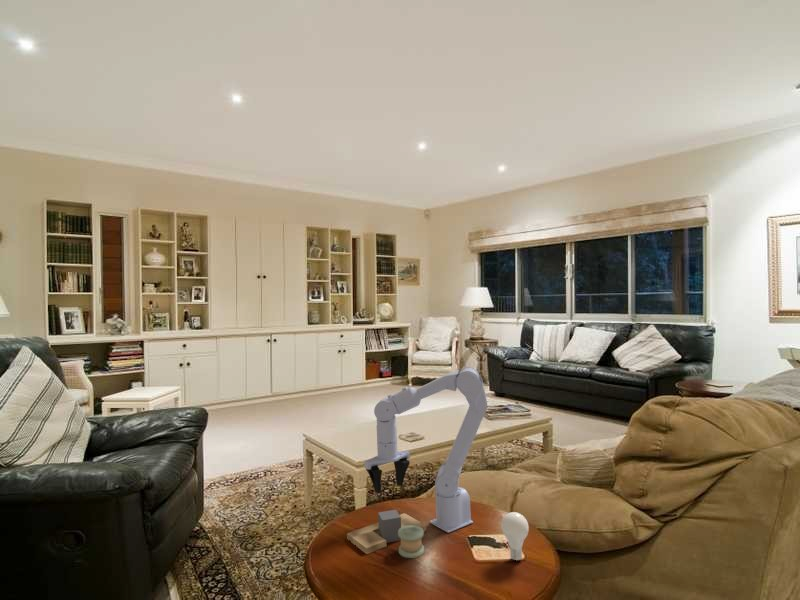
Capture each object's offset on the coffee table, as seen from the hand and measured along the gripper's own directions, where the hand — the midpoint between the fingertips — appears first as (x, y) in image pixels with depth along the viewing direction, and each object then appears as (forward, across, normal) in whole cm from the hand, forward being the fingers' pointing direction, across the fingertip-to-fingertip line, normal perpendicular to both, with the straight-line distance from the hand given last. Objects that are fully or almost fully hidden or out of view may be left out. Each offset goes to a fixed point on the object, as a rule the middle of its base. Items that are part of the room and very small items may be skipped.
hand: (388, 488), depth 133 cm
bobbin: (+9, +5, +17) cm, 20 cm away
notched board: (+9, +5, +6) cm, 12 cm away
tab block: (+10, +5, +8) cm, 13 cm away
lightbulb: (+10, -12, +36) cm, 39 cm away
